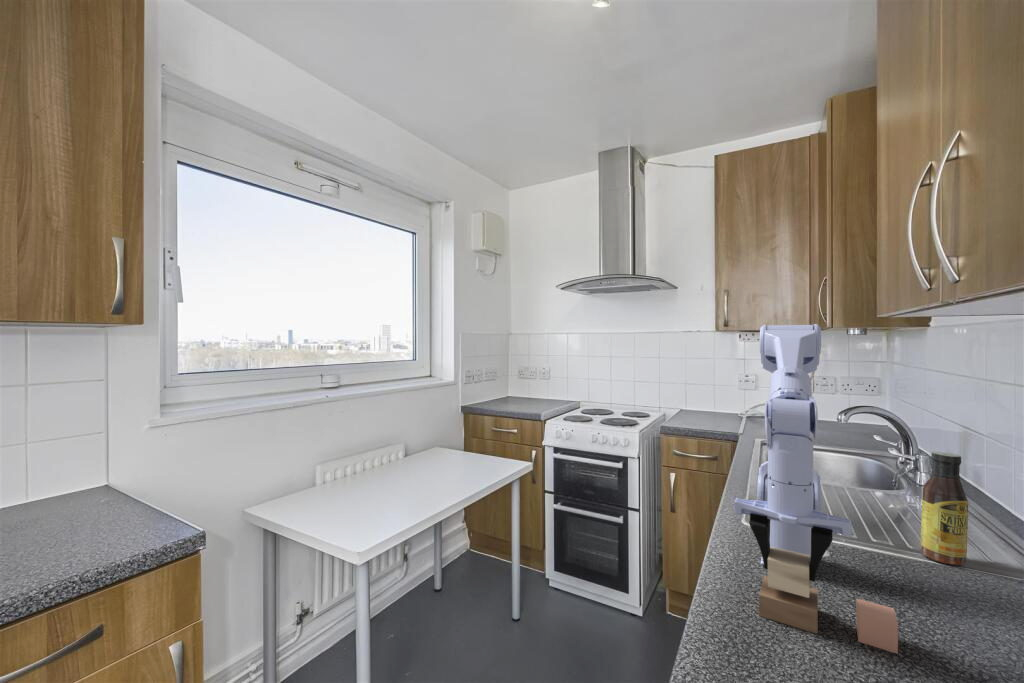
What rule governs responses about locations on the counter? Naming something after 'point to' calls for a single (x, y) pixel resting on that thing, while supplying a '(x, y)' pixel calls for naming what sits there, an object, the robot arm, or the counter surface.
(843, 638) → the counter surface
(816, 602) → the walnut base
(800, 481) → the robot arm
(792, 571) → the maple block
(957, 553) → the sauce bottle
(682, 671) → the counter surface
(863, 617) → the terracotta block
